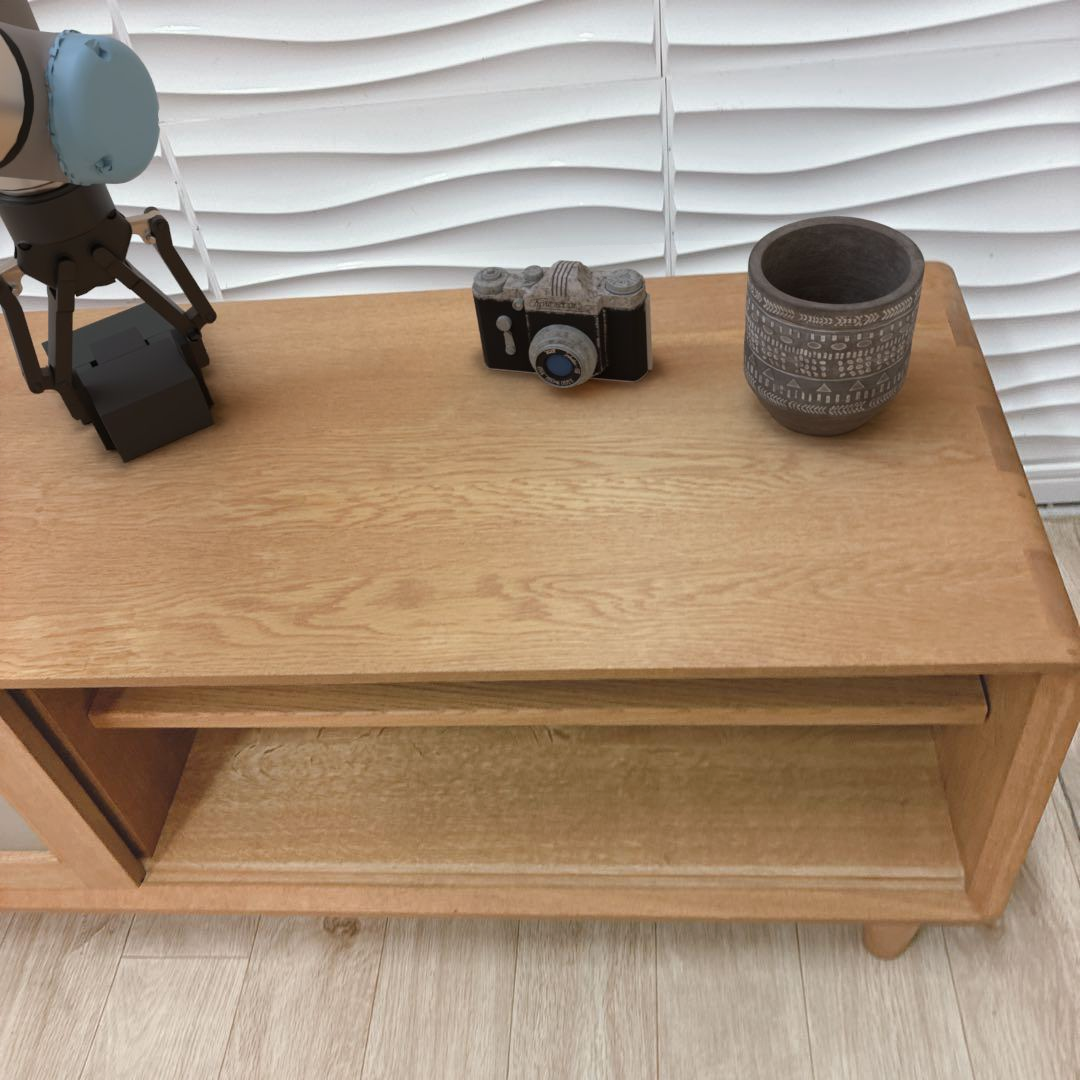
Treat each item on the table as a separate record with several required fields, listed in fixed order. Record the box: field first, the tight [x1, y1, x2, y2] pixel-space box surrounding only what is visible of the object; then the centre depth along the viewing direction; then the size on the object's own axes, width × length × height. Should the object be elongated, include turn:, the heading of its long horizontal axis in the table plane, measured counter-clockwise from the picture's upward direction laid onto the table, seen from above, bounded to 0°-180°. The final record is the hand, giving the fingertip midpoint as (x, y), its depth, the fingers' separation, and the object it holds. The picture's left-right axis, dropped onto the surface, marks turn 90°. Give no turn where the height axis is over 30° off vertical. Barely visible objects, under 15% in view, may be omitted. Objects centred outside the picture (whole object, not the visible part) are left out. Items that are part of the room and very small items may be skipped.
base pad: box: [41, 301, 204, 425], centre depth 96 cm, size 11×10×3 cm
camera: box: [471, 259, 653, 389], centre depth 87 cm, size 15×7×10 cm, turn 74°
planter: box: [743, 215, 926, 437], centre depth 80 cm, size 12×12×13 cm
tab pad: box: [78, 326, 215, 463], centre depth 91 cm, size 8×11×5 cm
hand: (156, 418), depth 92 cm, fingers closed on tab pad, 8 cm apart
